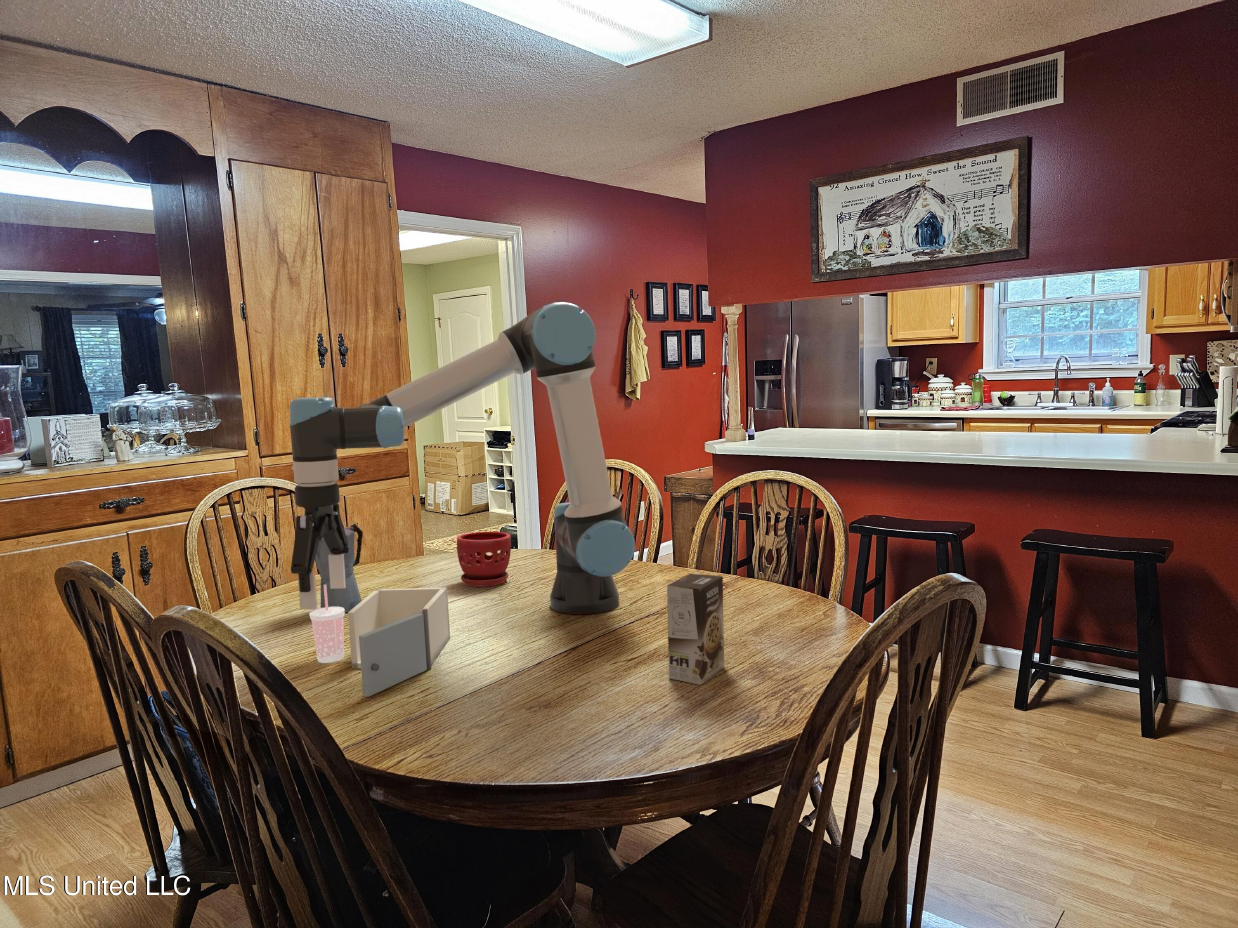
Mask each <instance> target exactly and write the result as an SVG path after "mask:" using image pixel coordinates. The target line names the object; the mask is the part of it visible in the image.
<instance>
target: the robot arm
mask: <svg viewBox="0 0 1238 928" xmlns="http://www.w3.org/2000/svg"><path fill="white" fill-rule="evenodd" d="M596 336H597V335H596V328H595V324H594V322H593V320H592V318H591V316H590V315H589V314H588V313H587V312H586V310H584V309H583V308H581V307H580V306H578V305H576V304H574V303H571V302H565V301H560V302H552V303H549V304H546V305H543V307H540V308H537V309H535V310H533V311H532V312H531V313H529V314H528V315H527V316H526V317H524V318H522V319H521V320H520V321H519V322H517V323H515V324H513V325H512V326H510V327H508V328H506V329H504V330H502V331H501V332H499V334H498V337H497V339H495V340H493V341H492V342H489V343H487V344H484V345H483V346H481V347H479V348H478V349H476V350H474V351H471V352H469V353H467V354H465V355H463V356H461V357H459V358H457V359H454V360H452V361H451V362H448V363H447V364H445V365H443V366H441V367H439V368H437V369H435V370H433V371H431V372H429V373H427V374H424V375H422V376H421V377H419V378H416V379H414V380H412V381H410V382H408V383H406V384H404V385H402V386H400V387H398V388H396V389H395V390H392V391H390V392H389V393H386V394H384V395H382V396H380V397H378V398H376V399H374V400H372V401H370V402H368V403H364V404H362V405H359V406H357V407H336V405H335V403H334V398H332V397H329V396H328V397H327V396H326V397H324V396H323V397H297V398H295V399H292V401H290V403H289V429H290V430H289V431H290V440H291V441H290V442H291V453H292V464H293V465H291V468H290V469H291V470H292V471H293V479H294V480H293V481H294V482H295V483H296V484H297V485H295V487H294V501H295V505H296V506H297V507H299V508H303V509H304V515H297V516H296V517H295V535H294V541H293V542H294V543H293V550H292V557H291V563H290V564H291V565H290V571H291V574H292V575H294V574H295V575H297V581H298V582H297V583H298V597H299V599H298V600H299V610H301V611H302V610H303V611H306V610H311V611H312V610H316V609H318V601H317V583H316V572H315V571H313V569H314V564H315V556H316V552H317V548H318V544H319V540H321V539H322V538H324V540H325V542H326V544H327V546H328V548H329V550H330V552H331V553H333V554H330V555H328V559H329V574H330V589H335V588H346V582H345V566H344V554H343V553H348V552H349V548H347V547H348V541H347V538H346V534H345V531H344V528H345V527H344V523H343V520H342V516H341V512H340V511H341V510H340V504H339V503H340V501H341V498H340V485H339V484H338V483H337V481H338V480H339V479H340V478H339V477H340V476H339V463H338V453H337V452H338V450H346V449H347V450H349V449H376V448H378V449H379V448H380V449H381V448H383V449H388V448H393V447H401V446H402V445H403V444H404V442H405V428H406V427H408V426H411V425H413V424H415V423H417V422H418V421H419V422H420V421H421V420H423V419H424V418H426V417H429V416H431V415H432V414H435V413H437V412H438V411H441V410H443V409H445V408H446V407H448V406H451V405H453V404H454V403H457V402H459V401H461V400H463V399H465V398H467V397H469V396H471V395H472V394H475V393H477V392H479V391H481V390H483V389H484V388H487V387H489V386H491V385H493V384H495V383H497V382H499V381H501V380H502V379H504V378H505V379H506V377H508V376H511V375H513V374H517V375H524V374H526V373H527V372H530V371H532V370H534V371H535V373H536V374H535V375H536V379H537V380H538V381H540V382H541V383H542V384H544V385H545V386H546V389H547V396H548V399H549V405H550V410H551V414H552V415H551V416H552V419H553V425H554V428H555V429H554V430H555V434H556V435H555V436H556V440H557V444H558V450H559V454H560V460H561V464H562V465H561V466H562V470H563V475H564V480H565V481H564V482H565V486H566V490H567V496H568V500H569V501H568V502H561V503H559V504H556V505H555V508H554V514H553V515H554V516H553V521H554V534H555V536H554V537H555V539H554V540H555V556H556V557H555V559H556V573H555V577H554V578H555V579H554V581H553V585H552V587H551V592H550V596H549V599H550V608H551V609H552V610H553V611H555V612H559V613H563V614H568V615H588V614H589V615H592V614H598V613H604V612H608V611H611V610H613V609H615V608H616V607H618V606H619V604H620V597H619V595H620V594H619V589H618V588H617V585H616V583H615V582H616V581H615V580H614V575H617V574H619V573H621V572H622V571H623V570H624V569H626V568H627V567H628V565H629V564H630V562H631V561H632V559H633V556H634V554H635V549H636V542H635V541H636V540H635V537H634V534H633V533H632V531H631V529H630V527H629V526H627V525H626V522H625V515H624V512H623V505H622V502H621V501H620V500H619V499H617V497H614V496H613V493H612V489H611V483H610V478H609V472H608V467H607V466H608V465H607V462H606V457H605V451H604V447H603V446H604V445H603V441H602V436H601V431H600V426H599V420H598V419H599V418H598V416H597V409H596V404H595V399H594V393H593V388H592V383H591V377H592V375H593V373H594V371H595V370H596V364H595V363H596V362H595V357H594V352H593V349H594V347H595V343H596V339H597V338H596ZM341 540H342V541H341Z"/></svg>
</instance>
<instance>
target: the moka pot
mask: <svg viewBox="0 0 1238 928" xmlns="http://www.w3.org/2000/svg"><path fill="white" fill-rule="evenodd" d="M344 531H345V534H346V538H347V541H348V547H347V548H349V552H348V553H343V554H344V566H345V582H346V588H335V589H330V574H329V559H328V555H330V554H333V553H331V552H330V550H329V548H328V546H327V544H326V542H325V540H324V538H322V539H321V540H319V544H318V548H317V552H316V556H315V561H314V564H315V566H316V568H317V570H318V571H319V577H320V608H325V596H324V585H326V587H327V599H328V607H342V608H344V609H345V611H344V612H345V614H347V613H348V612H349V611H350V610H352V609H353V608H354V607H355V606H356V605H358V604H359V603H360V602H361V601H362V600H363V599H362V597H361V593H360V590H359V589H360V588H359V586H358V583H357V580H356V576H355V573H354V570H355V569H354V566H357V565H358V564H360V563H361V562H360V561H361V552H362V543H363V536H364V531H363V530H362V529H361V528H360V527H359V526H358V525H357V524H356V523H354V524H352V525H351V524H350V526H346V527H344ZM355 533H357V539H356V543H355V536H356V535H355ZM341 541H342V540H341ZM355 544H356V545H357V547H356V555H355ZM355 556H356V557H355Z"/></svg>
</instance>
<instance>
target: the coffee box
mask: <svg viewBox="0 0 1238 928" xmlns="http://www.w3.org/2000/svg"><path fill="white" fill-rule="evenodd" d="M723 585H724V576H721V575H714V574H713V575H712V574H711V575H710V574H704V573H703V574H700V573H699V574H697V573H689V574H687V575H685V576H683V577H681V578H679V579H676V580H675V581H672V582H670V583H669V584H667V585H666V586H667V591H666V593H667V600H666V602H667V644H668V646H667V649H668V650H667V651H668V679H671V680H674V681H681V682H685V683H689V684H694V685H698V686H701V685H703V684H704V683H707V682H708V680H710V679H711V678H712V677H713V676H715V675H716V674H718V673H719V672H720V671H721V670H723V669H724V668H725V638H724V637H725V634H724V632H725V631H724V586H723Z"/></svg>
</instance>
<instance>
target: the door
mask: <svg viewBox="0 0 1238 928" xmlns="http://www.w3.org/2000/svg"><path fill="white" fill-rule="evenodd" d="M359 646H360V659H361V669H360V670H361V681H362V683H361V684H362V695H363V696H364V697H368V698H369V697H372V696H373V695H376V694H378V693H379V692H382V691H384V690H387V689H388V688H391V687H392V686H393V687H394V686H395V685H397V684H399V683H401V682H404V681H407V680H408V679H410V678H412V677H414V676H417V675H419V674H421V673H424V672H425V671H428V670H427V663H426V648H425V632H424V617H423V614H419V613H418V614H415V615H413V616H410V617H408V618H405V619H402V620H400V621H397V622H394V623H392V624H389V625H386V626H384V627H381V628H378V629H376V630H373V631H370V632H368V633H365V634H362V635H360V636H359Z"/></svg>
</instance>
